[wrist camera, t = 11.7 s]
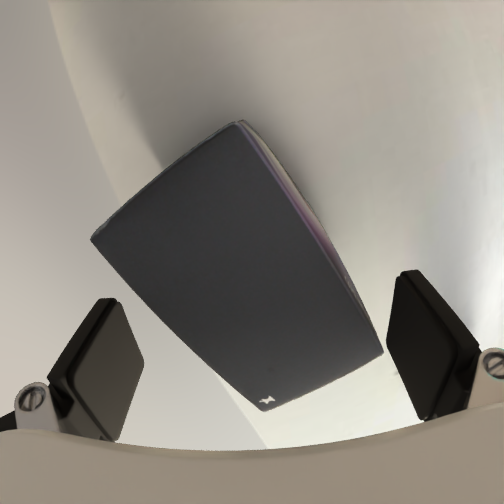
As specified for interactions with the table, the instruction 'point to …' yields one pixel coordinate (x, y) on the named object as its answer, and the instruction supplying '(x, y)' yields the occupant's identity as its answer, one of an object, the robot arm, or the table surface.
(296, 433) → the table surface
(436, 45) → the table surface
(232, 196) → the small box
